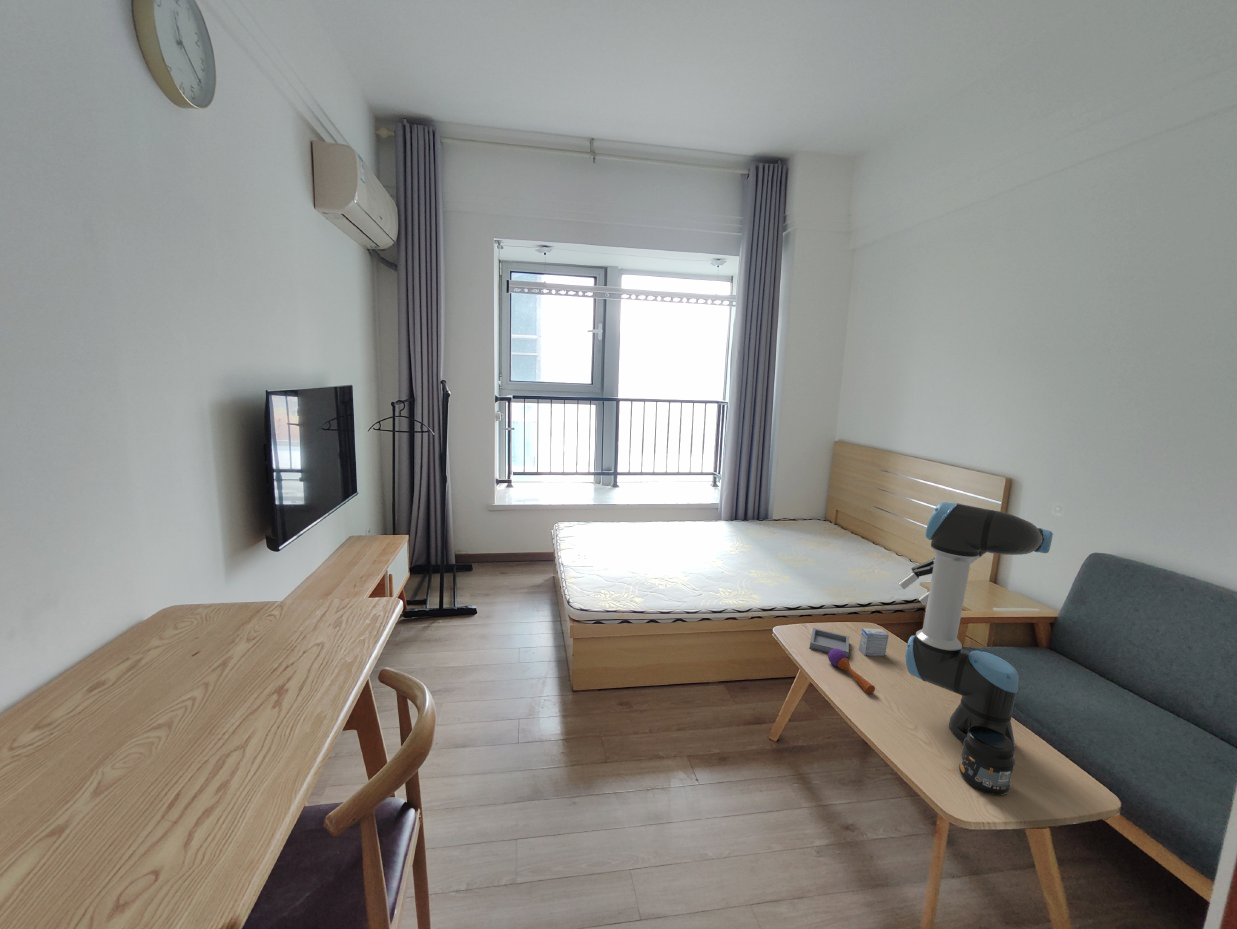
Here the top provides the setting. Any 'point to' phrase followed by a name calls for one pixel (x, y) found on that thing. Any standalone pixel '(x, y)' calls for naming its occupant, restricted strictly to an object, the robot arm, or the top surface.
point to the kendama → (849, 668)
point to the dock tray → (828, 641)
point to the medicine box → (873, 642)
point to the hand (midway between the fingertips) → (910, 594)
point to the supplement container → (987, 760)
